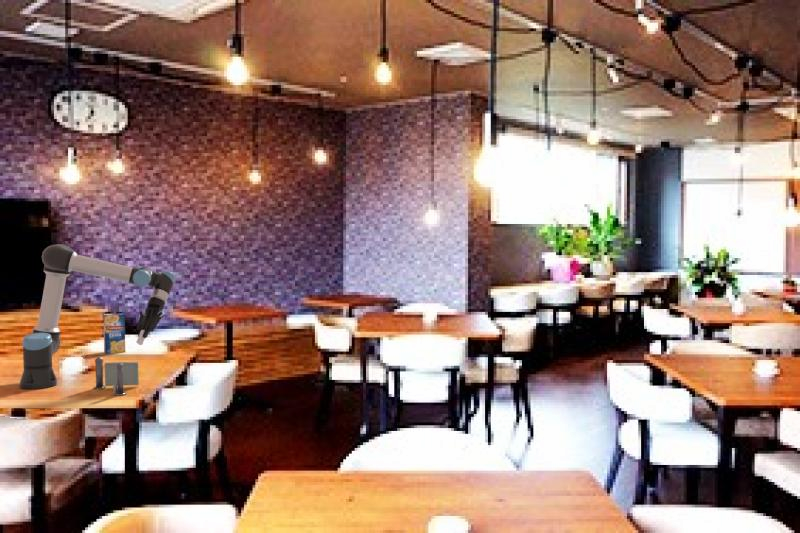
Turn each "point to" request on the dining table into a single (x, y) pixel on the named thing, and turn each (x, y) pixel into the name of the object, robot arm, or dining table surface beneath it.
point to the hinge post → (99, 373)
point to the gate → (128, 373)
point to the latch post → (119, 381)
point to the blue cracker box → (114, 333)
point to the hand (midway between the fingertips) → (139, 343)
